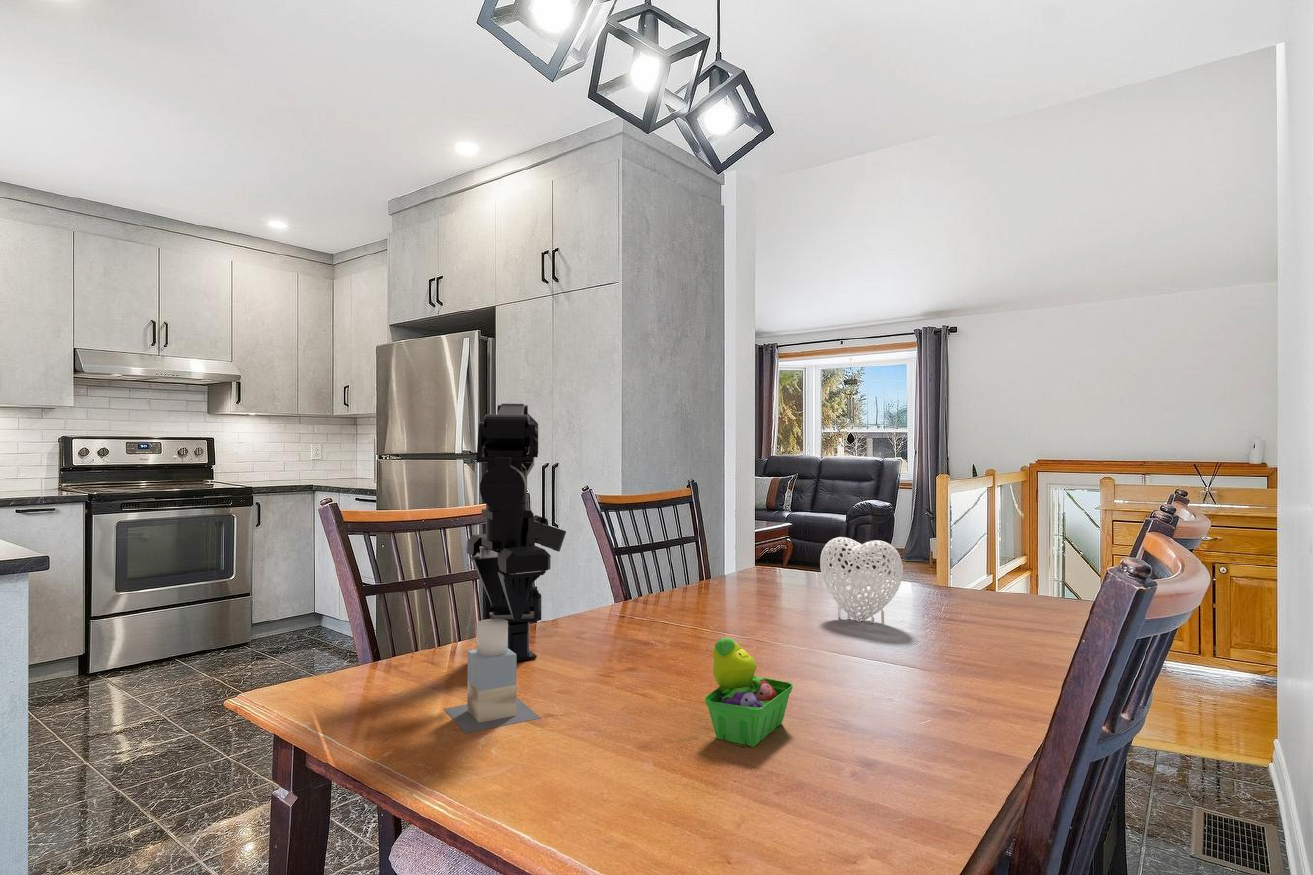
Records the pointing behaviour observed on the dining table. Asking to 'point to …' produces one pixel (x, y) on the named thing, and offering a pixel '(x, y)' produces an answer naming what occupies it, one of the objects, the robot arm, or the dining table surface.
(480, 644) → the white cylinder
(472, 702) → the bottom block
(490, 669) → the top block
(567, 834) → the dining table surface
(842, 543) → the decorative heart
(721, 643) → the fruit basket
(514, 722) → the mat
